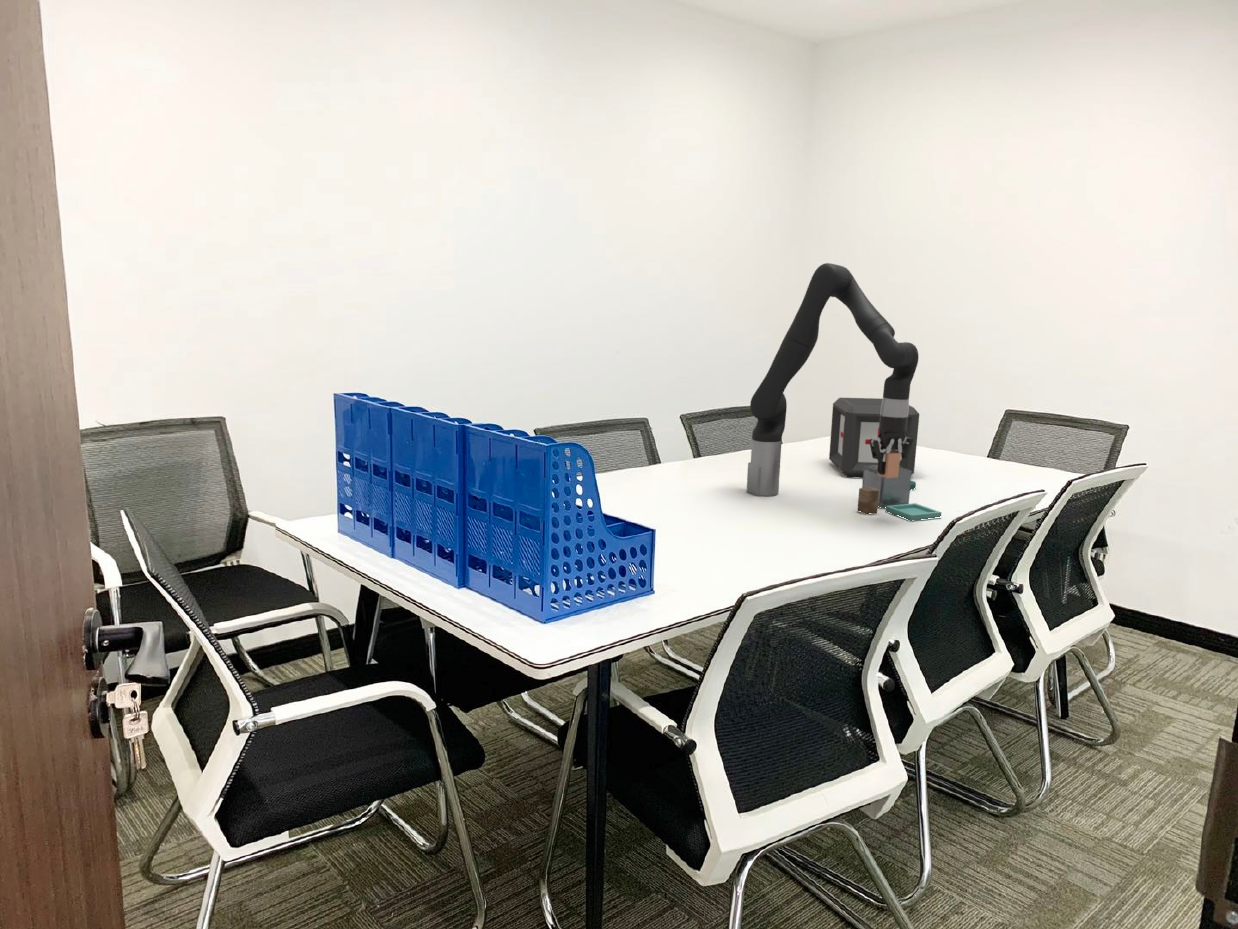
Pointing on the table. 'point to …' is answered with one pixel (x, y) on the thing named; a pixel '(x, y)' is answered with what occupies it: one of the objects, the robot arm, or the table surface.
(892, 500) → the grey unit
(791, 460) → the table surface
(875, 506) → the walnut block
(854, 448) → the first aid kit
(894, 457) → the terracotta block
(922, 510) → the teal tray
